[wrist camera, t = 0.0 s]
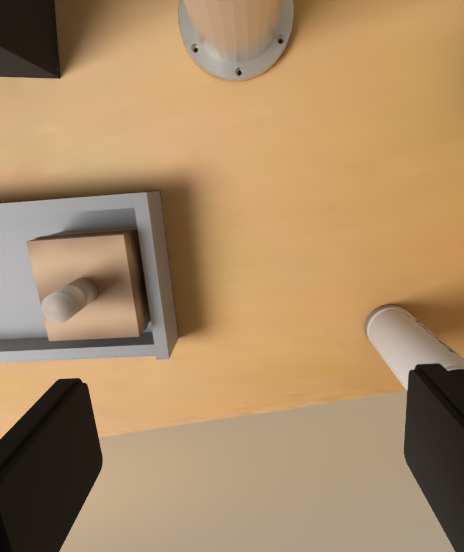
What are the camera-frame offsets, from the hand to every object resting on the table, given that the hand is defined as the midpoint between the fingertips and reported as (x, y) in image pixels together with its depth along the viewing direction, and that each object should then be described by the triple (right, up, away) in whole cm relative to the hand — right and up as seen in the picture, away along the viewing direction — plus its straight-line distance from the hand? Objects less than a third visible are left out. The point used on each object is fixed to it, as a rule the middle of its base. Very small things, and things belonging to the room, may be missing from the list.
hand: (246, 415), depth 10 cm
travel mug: (+21, -3, +38) cm, 43 cm away
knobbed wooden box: (-17, +4, +37) cm, 40 cm away
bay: (-24, +4, +38) cm, 45 cm away
